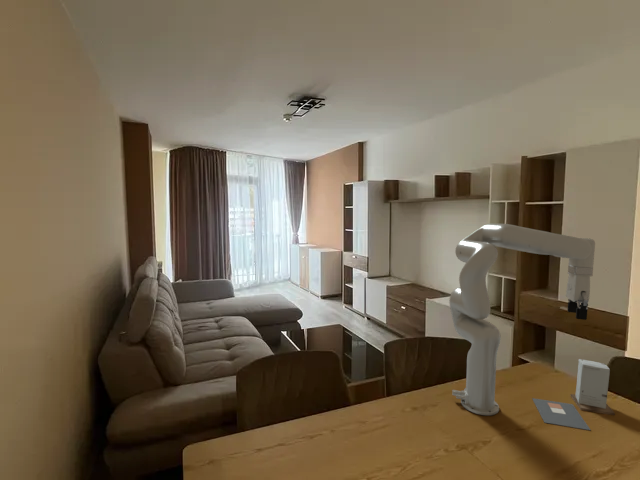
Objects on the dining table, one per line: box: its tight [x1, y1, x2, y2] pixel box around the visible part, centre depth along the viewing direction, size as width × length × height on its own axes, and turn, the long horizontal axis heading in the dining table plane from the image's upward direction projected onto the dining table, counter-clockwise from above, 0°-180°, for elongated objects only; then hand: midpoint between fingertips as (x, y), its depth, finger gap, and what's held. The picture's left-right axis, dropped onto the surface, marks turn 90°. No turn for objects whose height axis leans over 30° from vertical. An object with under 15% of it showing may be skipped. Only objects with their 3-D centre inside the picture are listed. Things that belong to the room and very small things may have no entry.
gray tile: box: [532, 397, 592, 431], centre depth 122 cm, size 13×16×1 cm
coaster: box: [570, 393, 616, 416], centre depth 128 cm, size 10×10×1 cm
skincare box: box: [574, 358, 611, 409], centre depth 127 cm, size 8×6×15 cm
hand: (576, 315), depth 132 cm, fingers open, 9 cm apart
